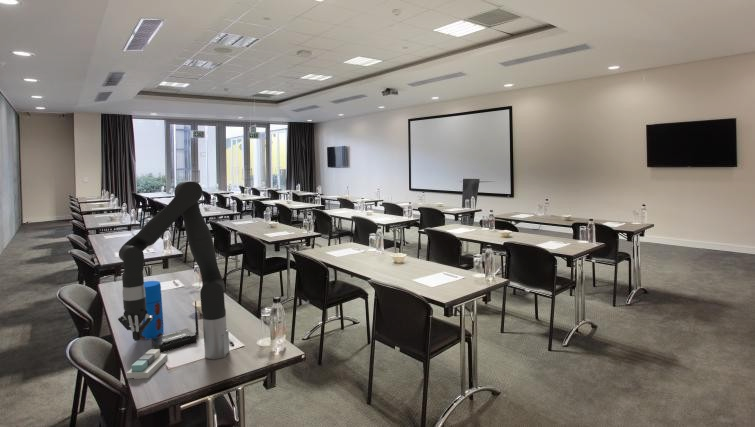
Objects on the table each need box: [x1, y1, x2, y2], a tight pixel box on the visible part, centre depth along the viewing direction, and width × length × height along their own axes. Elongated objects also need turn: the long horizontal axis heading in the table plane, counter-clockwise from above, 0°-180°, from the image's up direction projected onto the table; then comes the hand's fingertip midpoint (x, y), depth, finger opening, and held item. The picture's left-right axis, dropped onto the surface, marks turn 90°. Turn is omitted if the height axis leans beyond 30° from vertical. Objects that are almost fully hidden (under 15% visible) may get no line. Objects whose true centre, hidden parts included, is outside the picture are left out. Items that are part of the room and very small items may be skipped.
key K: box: [144, 348, 161, 360], centre depth 177 cm, size 4×4×3 cm
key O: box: [131, 359, 148, 372], centre depth 168 cm, size 4×4×3 cm
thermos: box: [140, 280, 164, 340], centre depth 205 cm, size 11×11×25 cm
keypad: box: [126, 353, 169, 380], centre depth 173 cm, size 8×16×2 cm, turn 1°
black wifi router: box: [150, 300, 200, 354], centre depth 196 cm, size 20×14×17 cm
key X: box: [137, 354, 154, 366], centre depth 172 cm, size 4×4×3 cm
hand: (137, 339), depth 166 cm, fingers closed
